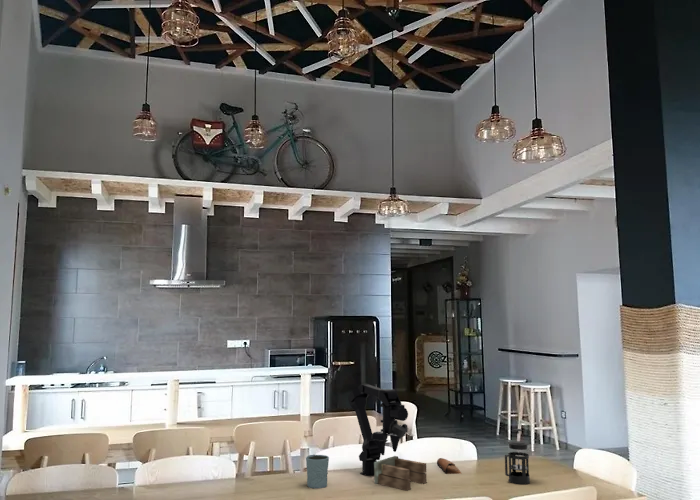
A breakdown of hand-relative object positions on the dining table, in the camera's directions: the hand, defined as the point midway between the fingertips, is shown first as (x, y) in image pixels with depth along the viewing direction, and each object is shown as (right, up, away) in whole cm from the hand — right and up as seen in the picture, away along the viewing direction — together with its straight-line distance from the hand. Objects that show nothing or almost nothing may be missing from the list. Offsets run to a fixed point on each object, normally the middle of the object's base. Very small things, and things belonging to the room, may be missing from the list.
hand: (388, 453), depth 253 cm
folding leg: (+2, -6, -10) cm, 12 cm away
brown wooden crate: (+5, -12, -4) cm, 13 cm away
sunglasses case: (+31, -16, +20) cm, 40 cm away
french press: (+58, -13, -1) cm, 60 cm away
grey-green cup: (-32, -11, -9) cm, 35 cm away
